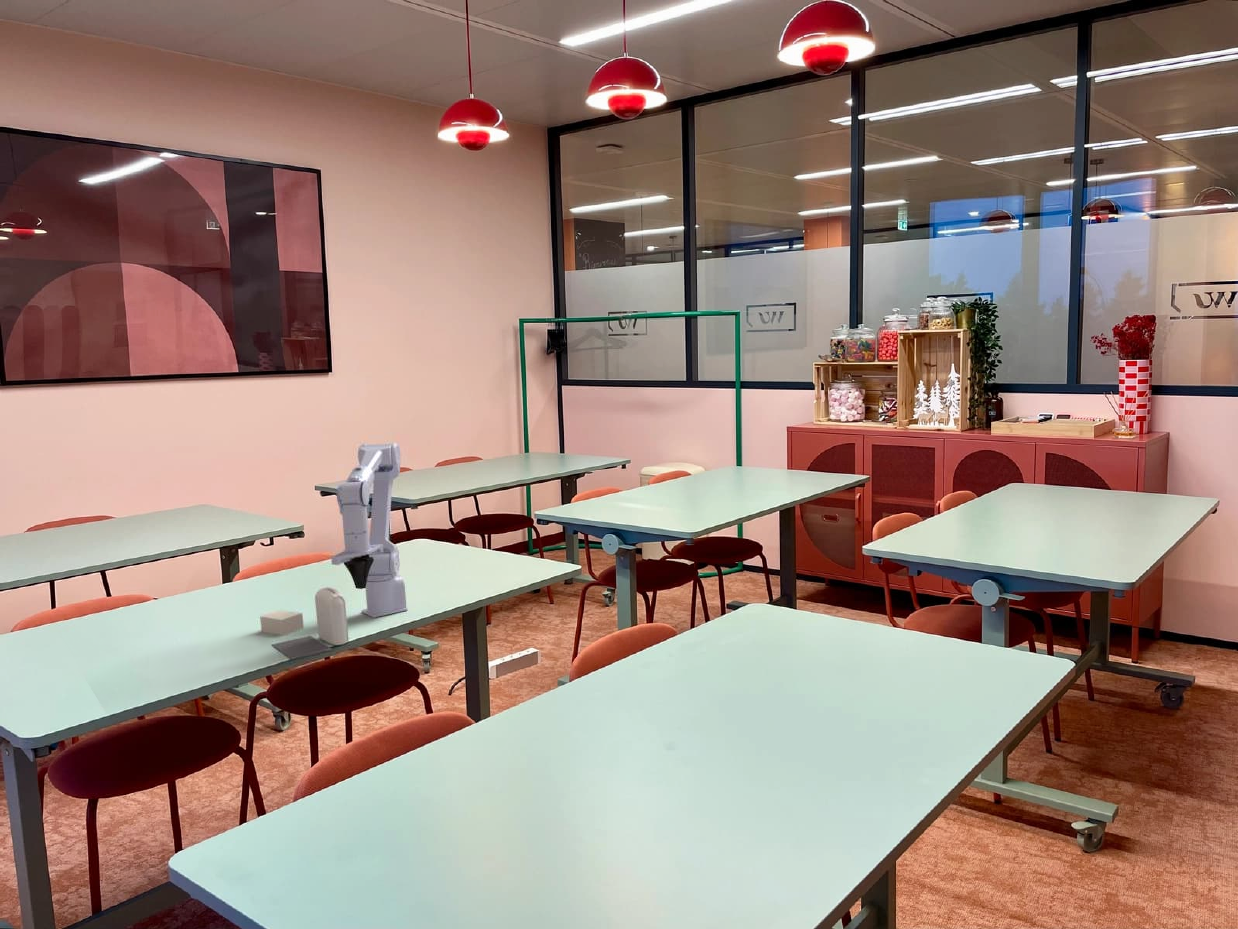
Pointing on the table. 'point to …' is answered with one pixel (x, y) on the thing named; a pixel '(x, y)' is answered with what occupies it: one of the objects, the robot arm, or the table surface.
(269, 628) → the card box
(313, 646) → the mat
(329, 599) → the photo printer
